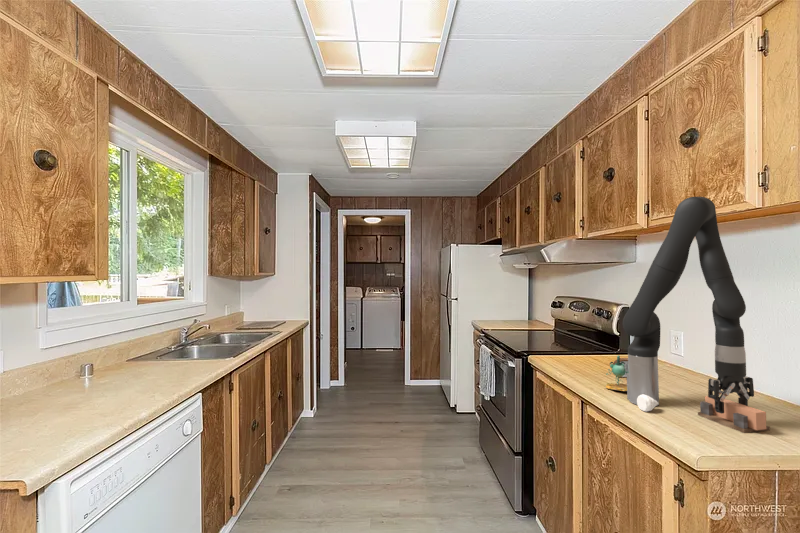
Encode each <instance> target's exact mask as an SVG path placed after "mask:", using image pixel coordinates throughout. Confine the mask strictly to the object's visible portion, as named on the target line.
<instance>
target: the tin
mask: <svg viewBox="0 0 800 533" xmlns="http://www.w3.org/2000/svg"><path fill="white" fill-rule="evenodd" d="M621 362H624V363H625V364H624V363H622V364H624V367H625V370H626V372H625V375H624V376H621V377H620V378H622V379H627V373H628V372H629V371H628V357H620V363H621ZM615 363H617V359H615V360H614V361H613V363H612V364H613V365H615Z"/></svg>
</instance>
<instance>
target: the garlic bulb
mask: <svg viewBox="0 0 800 533" xmlns="http://www.w3.org/2000/svg"><path fill="white" fill-rule="evenodd" d="M656 405H658V402H657V401H656V400H654V399H653V398H651V397H649V396H647V395H644V394H642V395H640V396H638V398H637V407H638V408H639V410H641V411H643V412H647V413H648V412H651V411H652V410H653V409H654V408H655V407H657V406H656ZM658 406H659V405H658Z"/></svg>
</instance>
